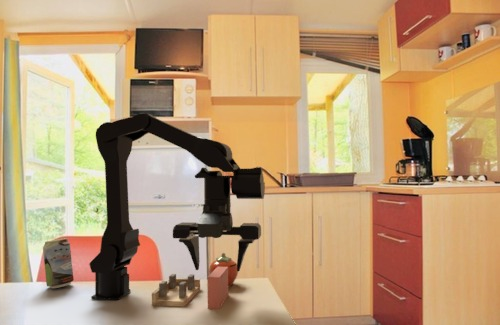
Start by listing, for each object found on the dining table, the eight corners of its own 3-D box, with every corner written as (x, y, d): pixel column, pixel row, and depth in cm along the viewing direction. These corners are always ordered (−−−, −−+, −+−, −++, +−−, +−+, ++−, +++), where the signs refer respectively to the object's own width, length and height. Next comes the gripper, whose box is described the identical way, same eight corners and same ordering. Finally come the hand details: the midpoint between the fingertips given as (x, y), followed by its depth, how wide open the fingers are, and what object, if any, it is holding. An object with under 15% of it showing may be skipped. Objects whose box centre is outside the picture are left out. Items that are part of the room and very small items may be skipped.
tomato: (231, 290, 88) (231, 257, 89) (203, 287, 91) (203, 254, 91) (242, 282, 95) (242, 251, 96) (216, 279, 98) (216, 249, 98)
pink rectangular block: (219, 309, 76) (219, 277, 77) (207, 308, 77) (207, 277, 77) (228, 295, 85) (228, 266, 86) (217, 295, 86) (217, 266, 86)
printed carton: (62, 291, 89) (62, 241, 90) (36, 289, 91) (36, 240, 91) (79, 283, 95) (79, 236, 96) (54, 282, 97) (54, 236, 97)
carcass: (151, 305, 79) (151, 286, 79) (171, 288, 91) (171, 271, 91) (184, 306, 78) (184, 287, 78) (200, 289, 90) (200, 272, 90)
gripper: (163, 201, 75) (163, 279, 75) (254, 201, 73) (255, 282, 72) (181, 198, 86) (181, 265, 86) (261, 198, 84) (261, 268, 83)
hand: (217, 270), depth 81 cm, fingers open, 9 cm apart
